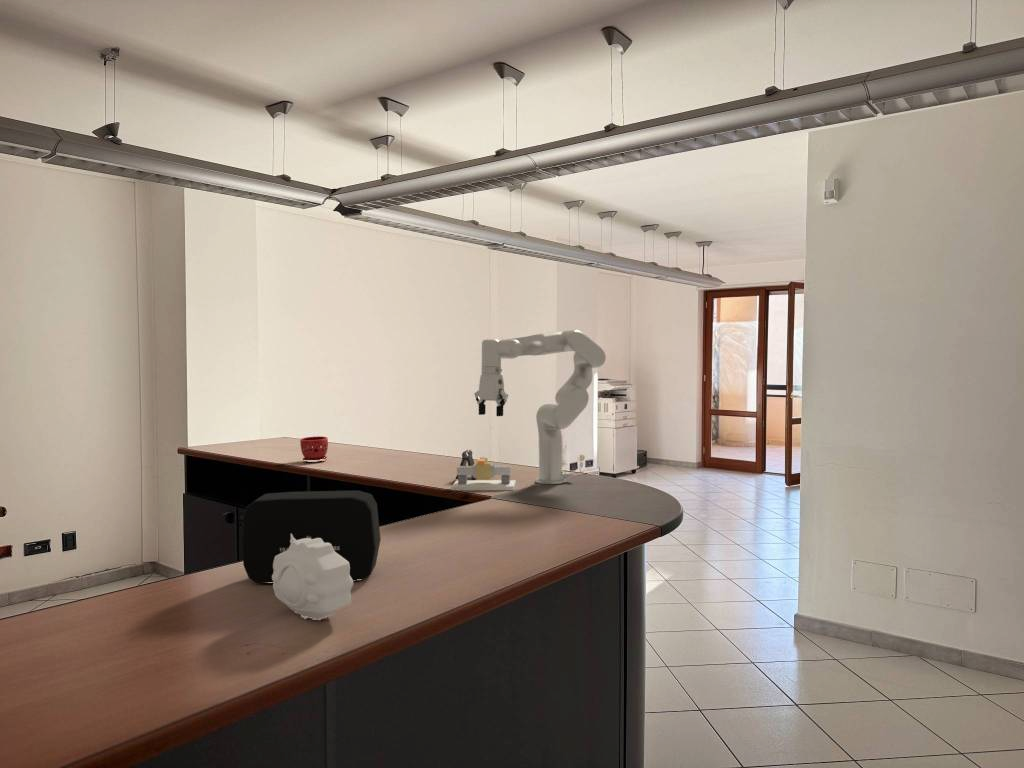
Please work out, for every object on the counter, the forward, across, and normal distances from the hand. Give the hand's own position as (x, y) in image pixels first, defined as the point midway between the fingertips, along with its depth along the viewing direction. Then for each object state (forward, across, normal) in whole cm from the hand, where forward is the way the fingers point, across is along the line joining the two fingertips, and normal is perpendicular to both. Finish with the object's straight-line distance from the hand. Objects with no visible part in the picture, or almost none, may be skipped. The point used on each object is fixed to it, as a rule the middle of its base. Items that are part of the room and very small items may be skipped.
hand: (490, 415), depth 275 cm
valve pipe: (+25, +3, 0) cm, 25 cm away
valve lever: (+18, 0, +4) cm, 19 cm away
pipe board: (+28, +3, 0) cm, 29 cm away
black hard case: (+31, -45, +105) cm, 118 cm away
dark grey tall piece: (+29, +22, -8) cm, 37 cm away
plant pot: (+30, +117, +6) cm, 121 cm away
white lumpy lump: (+31, -68, +120) cm, 141 cm away
